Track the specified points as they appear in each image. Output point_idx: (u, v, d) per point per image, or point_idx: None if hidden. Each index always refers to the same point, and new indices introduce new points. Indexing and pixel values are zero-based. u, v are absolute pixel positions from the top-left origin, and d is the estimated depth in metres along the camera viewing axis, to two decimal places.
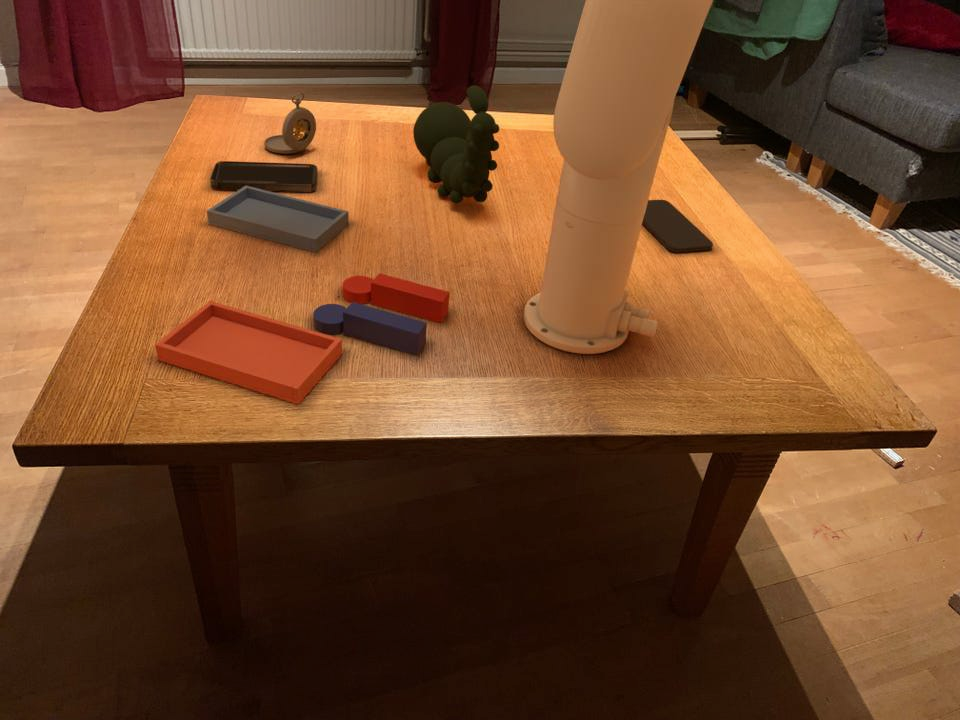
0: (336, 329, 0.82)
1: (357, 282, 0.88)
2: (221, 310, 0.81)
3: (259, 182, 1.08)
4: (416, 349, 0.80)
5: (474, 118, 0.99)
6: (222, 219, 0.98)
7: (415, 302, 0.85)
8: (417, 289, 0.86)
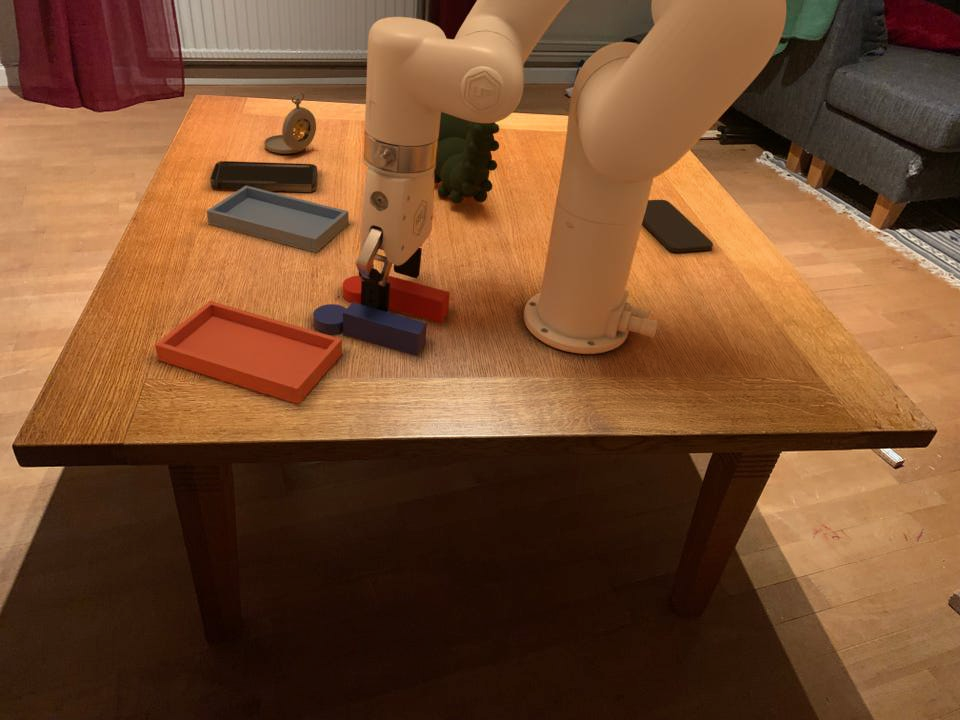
0: (336, 329, 0.82)
1: (357, 282, 0.88)
2: (221, 310, 0.81)
3: (259, 182, 1.08)
4: (416, 349, 0.80)
5: None
6: (222, 219, 0.98)
7: (415, 302, 0.85)
8: (417, 289, 0.86)
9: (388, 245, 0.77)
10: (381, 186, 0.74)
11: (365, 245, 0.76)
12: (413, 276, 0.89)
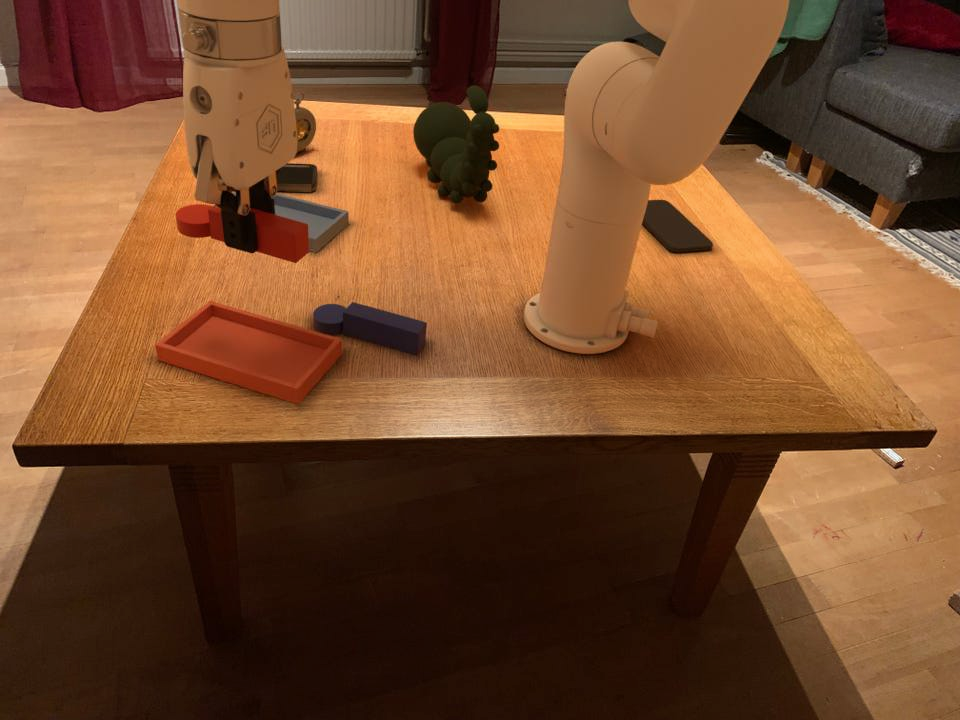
0: (336, 329, 0.82)
1: (196, 211, 0.70)
2: (221, 310, 0.81)
3: None
4: (416, 348, 0.80)
5: (474, 118, 0.99)
6: None
7: (263, 236, 0.67)
8: (266, 219, 0.67)
9: (221, 161, 0.59)
10: (200, 78, 0.56)
11: (199, 173, 0.60)
12: None
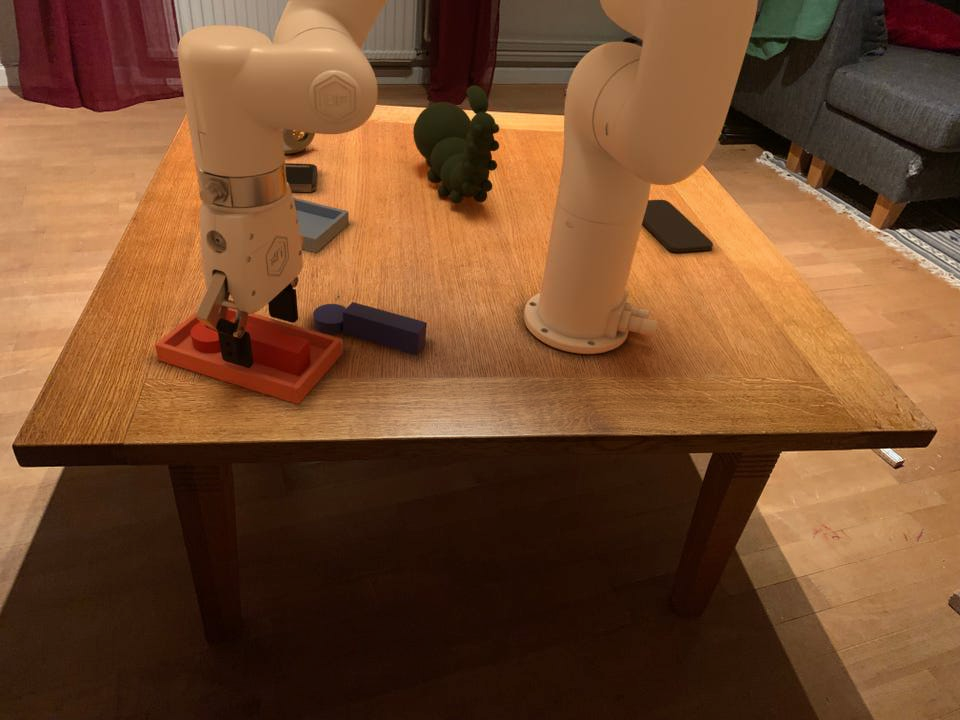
0: (336, 329, 0.82)
1: (208, 328, 0.78)
2: None
3: None
4: (416, 348, 0.80)
5: (474, 118, 0.99)
6: None
7: (269, 353, 0.75)
8: (271, 338, 0.75)
9: (235, 291, 0.66)
10: (216, 224, 0.63)
11: (206, 294, 0.65)
12: (290, 321, 0.78)
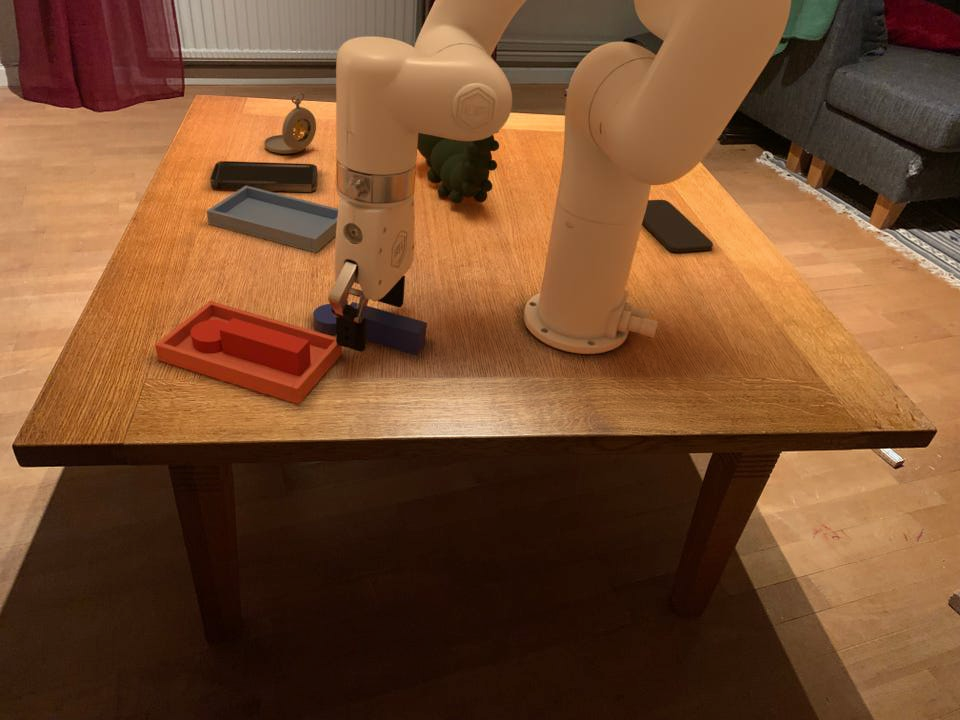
0: None
1: (208, 328, 0.78)
2: (221, 310, 0.81)
3: (259, 182, 1.08)
4: (416, 348, 0.80)
5: None
6: (222, 219, 0.98)
7: (269, 353, 0.75)
8: (271, 338, 0.75)
9: (364, 280, 0.72)
10: (354, 218, 0.69)
11: (338, 279, 0.70)
12: (397, 305, 0.84)
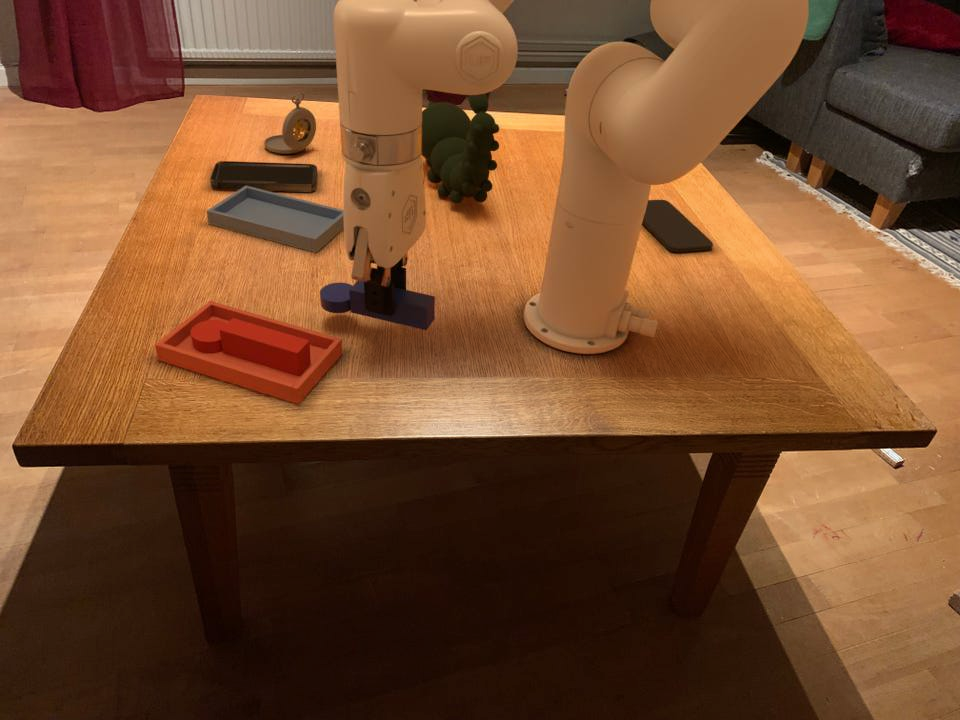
0: (343, 307, 0.80)
1: (208, 328, 0.78)
2: (221, 310, 0.81)
3: (259, 182, 1.08)
4: (425, 323, 0.78)
5: (474, 118, 0.99)
6: (222, 219, 0.98)
7: (269, 353, 0.75)
8: (271, 338, 0.75)
9: (375, 247, 0.70)
10: (361, 182, 0.67)
11: (356, 257, 0.71)
12: None
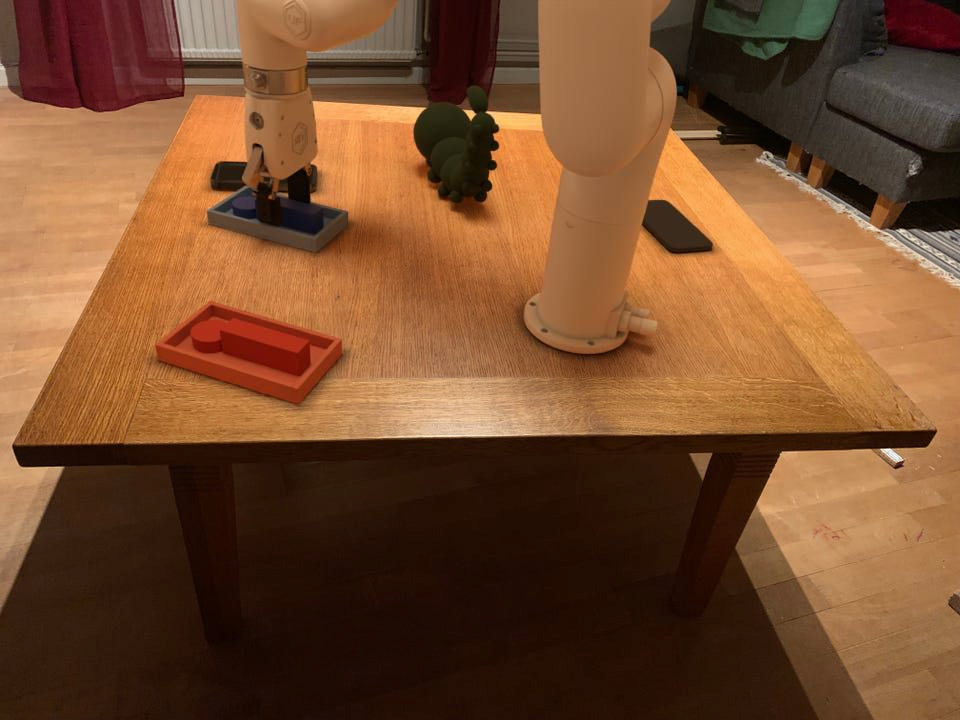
0: (250, 214, 1.00)
1: (208, 328, 0.78)
2: (221, 310, 0.81)
3: None
4: (314, 228, 0.98)
5: (474, 118, 0.99)
6: (222, 219, 0.98)
7: (269, 353, 0.75)
8: (271, 338, 0.75)
9: (269, 160, 0.90)
10: (257, 107, 0.87)
11: (249, 163, 0.89)
12: (305, 202, 1.02)
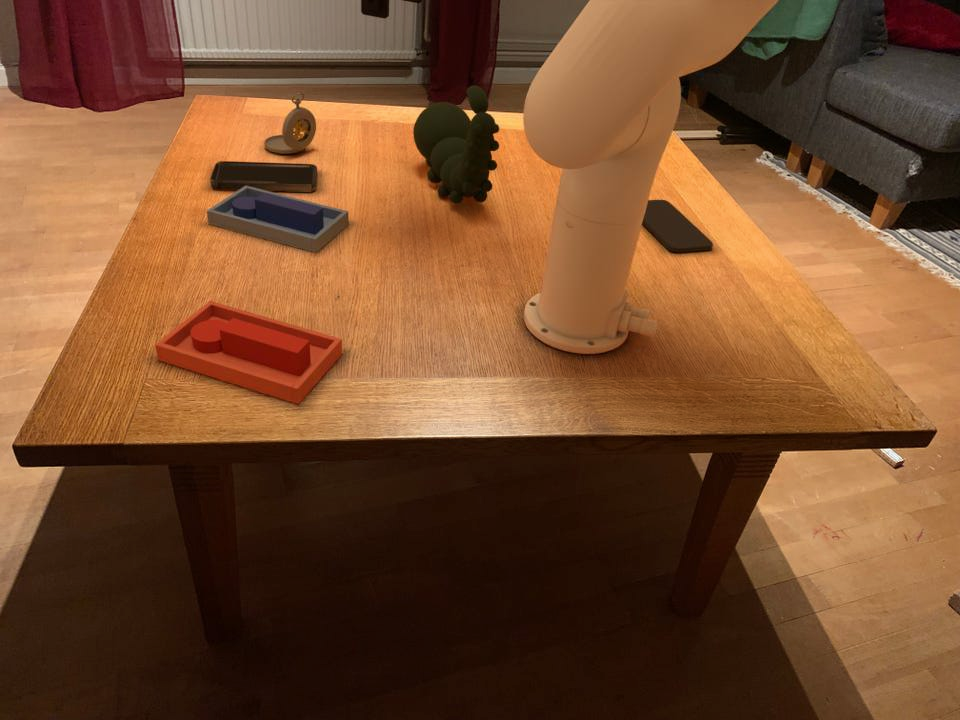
0: (250, 214, 1.00)
1: (208, 328, 0.78)
2: (221, 310, 0.81)
3: (259, 182, 1.08)
4: (314, 228, 0.98)
5: (474, 118, 0.99)
6: (222, 219, 0.98)
7: (269, 353, 0.75)
8: (271, 338, 0.75)
9: None
10: None
11: None
12: (416, 0, 0.90)
